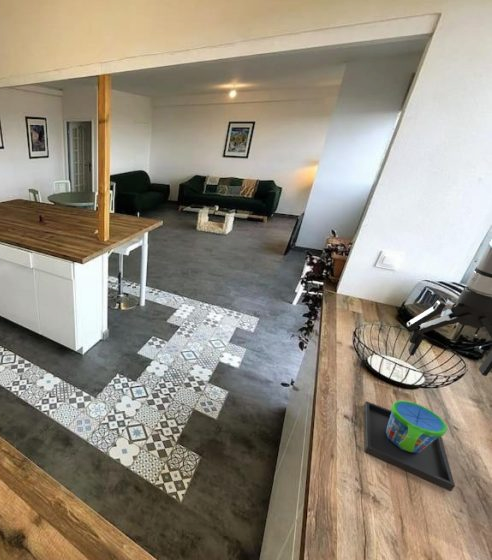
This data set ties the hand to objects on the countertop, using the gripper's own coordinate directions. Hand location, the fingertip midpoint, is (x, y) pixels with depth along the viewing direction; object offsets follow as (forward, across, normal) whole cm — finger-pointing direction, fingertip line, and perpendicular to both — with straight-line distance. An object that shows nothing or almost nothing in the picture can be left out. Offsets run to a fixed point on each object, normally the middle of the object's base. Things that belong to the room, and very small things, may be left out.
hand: (444, 362), depth 82 cm
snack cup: (+22, -2, -10) cm, 25 cm away
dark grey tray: (+23, -3, -10) cm, 25 cm away
